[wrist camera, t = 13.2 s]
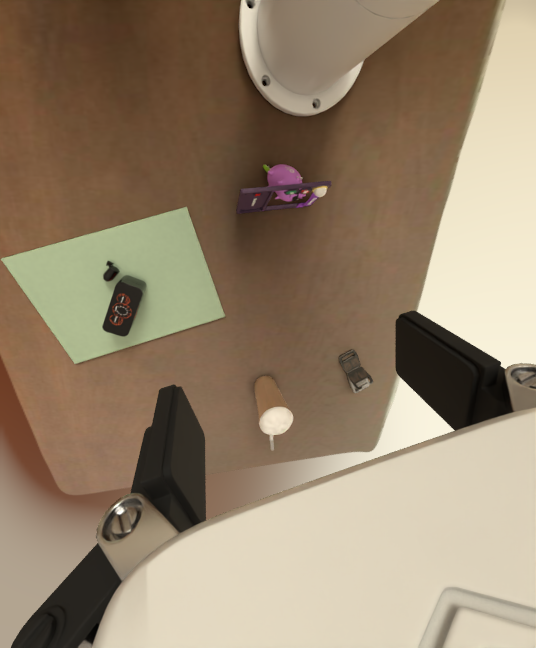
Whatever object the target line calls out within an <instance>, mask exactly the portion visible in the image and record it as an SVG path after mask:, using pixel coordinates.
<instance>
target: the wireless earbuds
mask: <svg viewBox="0 0 536 648" xmlns="http://www.w3.org/2000/svg"><path fill="white" fill-rule="evenodd" d="M113 264H114V263H112V262H110V261H107V263H106V266H108V267H109V268H108V269H107V270H106V272H105V273H104V274H103V279H104V280H105V281H107V282H110V281H112V280H114V279H115V277H116V276H117V275H118V274H119V272H120V270H119V269H118V268H117V267H115V266H113ZM146 288H147V284H146V283H145V282H144V281H143V280H140V279H137V278H135V277H132V276H129V275H125V276H123V277H122V278H121V279H120V280H119V281H118V283H117V284H116V285H115V289H114V292H113V295H112V298H111V301H110V304H109V307H108V310H107V313H106V316H105V319H104V323H103V326H102V328H103V330H104V331H106V332H108V333H112V334H115V335H118V336H122V337H125V336H127V335H128V334H129V332H130V330H131V328H132V326H133V324H134V321H135V318H136V315H137V313H138V310H139V307H140V304H141V302H142V299H143V296H144V293H145V291H146Z"/></svg>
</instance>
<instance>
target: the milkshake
mask: <svg viewBox="0 0 536 648" xmlns="http://www.w3.org/2000/svg"><path fill="white" fill-rule="evenodd" d="M254 389H255V396H256V402H257V408H258V417H259V426H260V428H261V430H262V431H263V432H264V433H266V434H269V435H270V447H271V450H274V443H273V435H279V434H282V433H284V432H285V431H287V430H288V429H289V427H290V426H291V424H292V422H293V415H292V413H291V411H290V409H289V408H288V406H287V404H286V402H285V401H284V399H283V397H282V395H281V393H280V391H279V389H278V387H277V386H276V384H275V382H274V380H273V378H271V377H269V376H261V377H260V378H258V379H257V380H256V381H255V384H254Z"/></svg>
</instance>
